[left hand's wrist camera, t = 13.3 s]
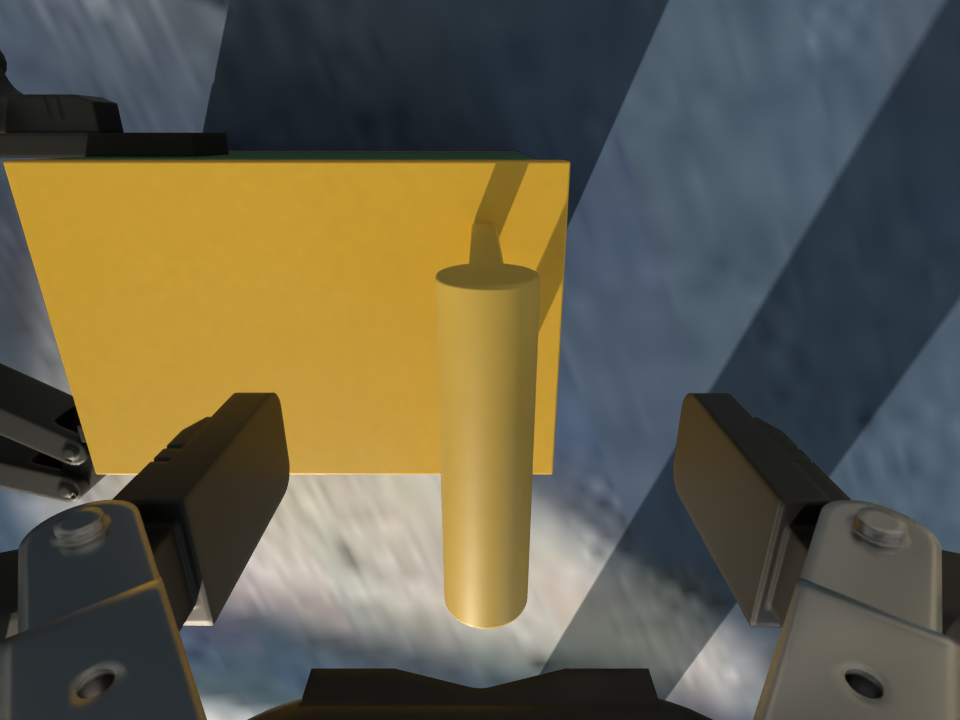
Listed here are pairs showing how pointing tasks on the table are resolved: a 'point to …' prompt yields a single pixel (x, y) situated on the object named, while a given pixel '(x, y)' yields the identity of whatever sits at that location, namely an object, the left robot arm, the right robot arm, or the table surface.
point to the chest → (340, 156)
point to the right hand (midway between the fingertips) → (235, 294)
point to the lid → (322, 323)
